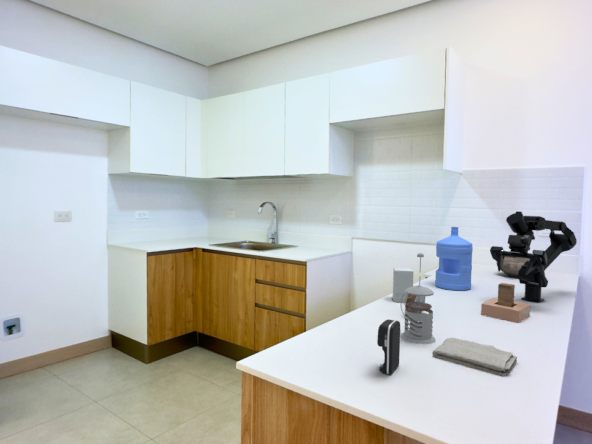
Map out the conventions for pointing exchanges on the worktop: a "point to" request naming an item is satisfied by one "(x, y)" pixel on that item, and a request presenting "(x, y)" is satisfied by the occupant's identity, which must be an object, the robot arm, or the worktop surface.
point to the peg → (506, 294)
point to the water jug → (454, 262)
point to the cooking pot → (512, 265)
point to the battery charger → (389, 344)
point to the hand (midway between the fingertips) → (511, 272)
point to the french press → (418, 315)
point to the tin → (415, 300)
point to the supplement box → (401, 283)
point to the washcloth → (476, 356)
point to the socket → (505, 310)
